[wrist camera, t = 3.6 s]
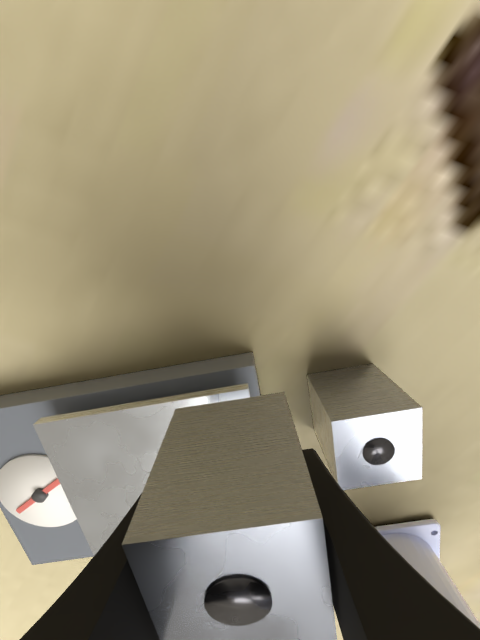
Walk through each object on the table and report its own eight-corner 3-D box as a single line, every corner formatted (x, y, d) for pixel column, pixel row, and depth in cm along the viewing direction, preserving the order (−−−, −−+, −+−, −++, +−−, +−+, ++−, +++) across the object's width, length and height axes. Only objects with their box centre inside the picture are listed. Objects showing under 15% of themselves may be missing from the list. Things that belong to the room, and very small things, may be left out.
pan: (275, 512, 20) (280, 551, 17) (119, 534, 20) (102, 575, 18) (246, 366, 16) (248, 388, 14) (63, 398, 17) (32, 424, 14)
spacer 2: (375, 419, 19) (422, 480, 14) (313, 428, 19) (339, 491, 14) (372, 363, 18) (423, 408, 13) (306, 374, 18) (331, 422, 13)
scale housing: (280, 503, 21) (286, 537, 18) (51, 536, 22) (27, 572, 19) (252, 351, 17) (254, 369, 15) (-20, 398, 18) (-60, 422, 16)
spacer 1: (296, 479, 12) (338, 650, 7) (198, 493, 12) (169, 669, 7) (284, 392, 10) (323, 521, 5) (175, 408, 11) (120, 548, 6)
